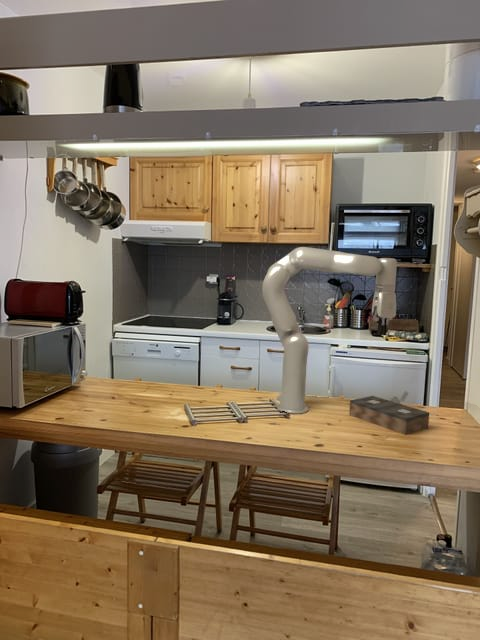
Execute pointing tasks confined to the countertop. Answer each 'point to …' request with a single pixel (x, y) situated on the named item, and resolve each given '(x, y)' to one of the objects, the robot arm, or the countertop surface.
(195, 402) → the countertop surface
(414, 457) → the countertop surface
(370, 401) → the peg
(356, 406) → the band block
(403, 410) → the peg
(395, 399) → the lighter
